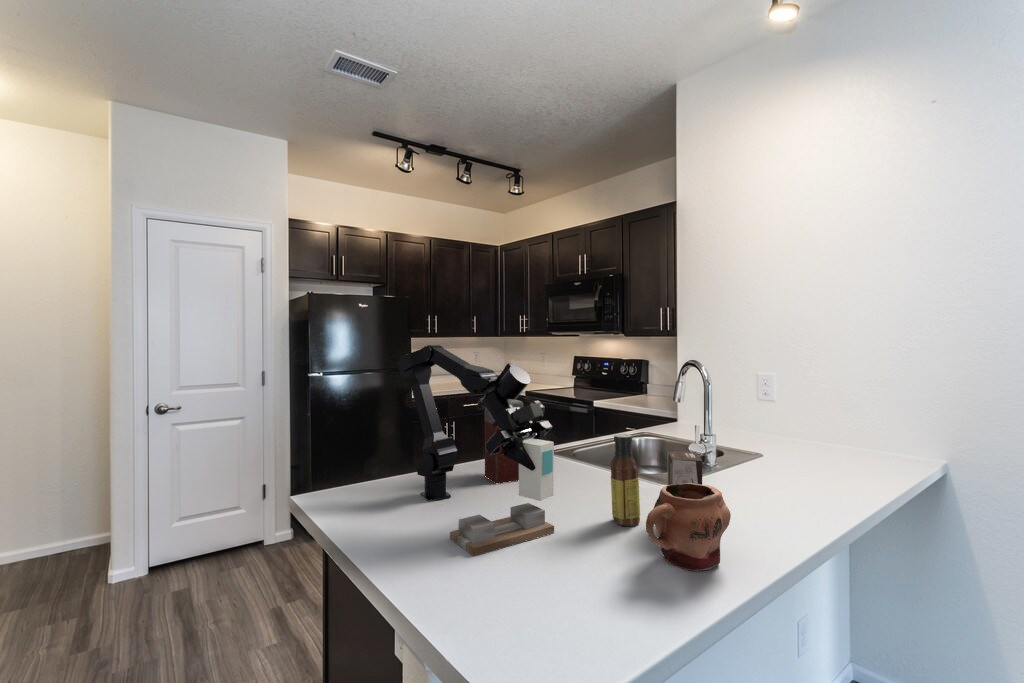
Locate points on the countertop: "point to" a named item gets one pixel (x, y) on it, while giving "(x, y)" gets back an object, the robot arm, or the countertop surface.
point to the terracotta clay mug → (689, 525)
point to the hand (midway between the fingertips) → (541, 466)
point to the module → (538, 470)
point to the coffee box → (684, 468)
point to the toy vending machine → (499, 455)
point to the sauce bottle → (624, 483)
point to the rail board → (501, 529)
